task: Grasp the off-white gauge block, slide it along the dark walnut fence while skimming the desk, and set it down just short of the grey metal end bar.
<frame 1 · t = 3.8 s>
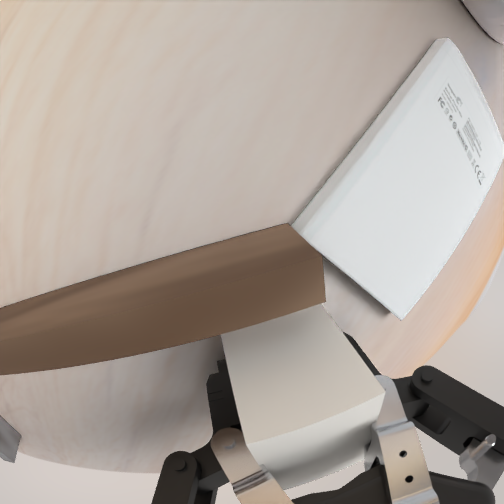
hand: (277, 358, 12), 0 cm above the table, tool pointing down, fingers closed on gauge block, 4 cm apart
guide fence: (58, 368, 11), on the table
external hard drive: (419, 173, 12), on the table
gauge block: (274, 350, 13), on the table, touching gripper
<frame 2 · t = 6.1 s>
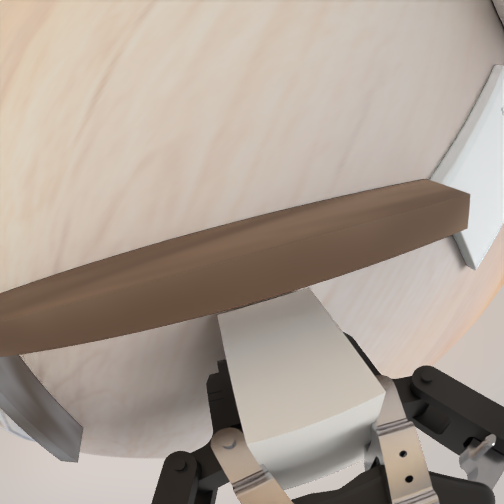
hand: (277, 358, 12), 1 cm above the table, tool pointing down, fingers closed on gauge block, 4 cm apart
guide fence: (192, 325, 12), on the table
external hard drive: (484, 159, 13), on the table
gauge block: (275, 350, 13), point 1 cm above the table, touching gripper
when the fingers open (1 cm above the table, at t = 8.5 s): gauge block stays where it is, on the table.
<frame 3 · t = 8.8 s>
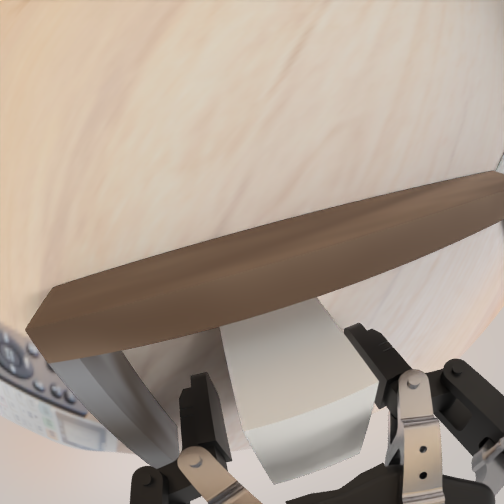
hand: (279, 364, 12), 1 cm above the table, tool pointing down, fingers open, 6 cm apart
guide fence: (345, 288, 13), on the table
gauge block: (272, 344, 13), on the table
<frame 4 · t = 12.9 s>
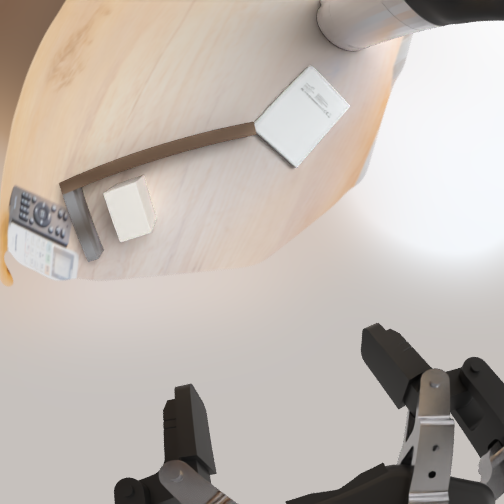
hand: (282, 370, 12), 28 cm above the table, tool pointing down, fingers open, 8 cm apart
guide fence: (160, 177, 34), on the table
external hard drive: (300, 115, 35), on the table
gauge block: (136, 201, 34), on the table
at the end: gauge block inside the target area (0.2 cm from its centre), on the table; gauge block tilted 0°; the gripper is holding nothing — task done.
